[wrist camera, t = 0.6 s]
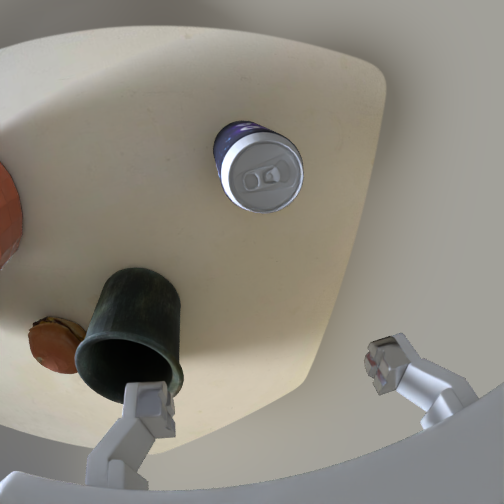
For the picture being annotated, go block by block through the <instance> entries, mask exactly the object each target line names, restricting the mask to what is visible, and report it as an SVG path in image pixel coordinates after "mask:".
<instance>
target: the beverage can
mask: <svg viewBox="0 0 504 504" xmlns="http://www.w3.org/2000/svg"><path fill="white" fill-rule="evenodd" d="M213 154H214V158H215V162H216V166H217V170H218V174H219V178H220V181H221V185H222V188H223V190H224V192H225V194H226V195H227V197H228V198H229V199H230V200H231V201H232V202H233V203H234V204H236V205H237V206H239V207H240V208H242V209H245V210H248V211H252V212H255V213H272V212H276V211H279V210H281V209H283V208H285V207H286V206H288V205H289V204H290V203H291V202H292V201H293V200H294V199H295V198H296V197H297V195H298V193H299V192H300V190H301V187H302V184H303V178H304V171H303V162H302V158H301V155H300V153H299V151H298V149H297V148H296V146H295V145H294V144H293V143H292V142H291V141H290V140H289V139H287V138H286V137H284V136H283V135H281V134H279V133H276V132H274V131H272V130H270V129H267V128H265V127H263V126H261V125H258V124H256V123H254V122H250V121H236V122H233V123H230V124H228V125H227V126H225V127H224V128H223V129H222V130H221V131H220V132H219V133H218V135H217V137H216V139H215V141H214V146H213Z"/></svg>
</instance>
